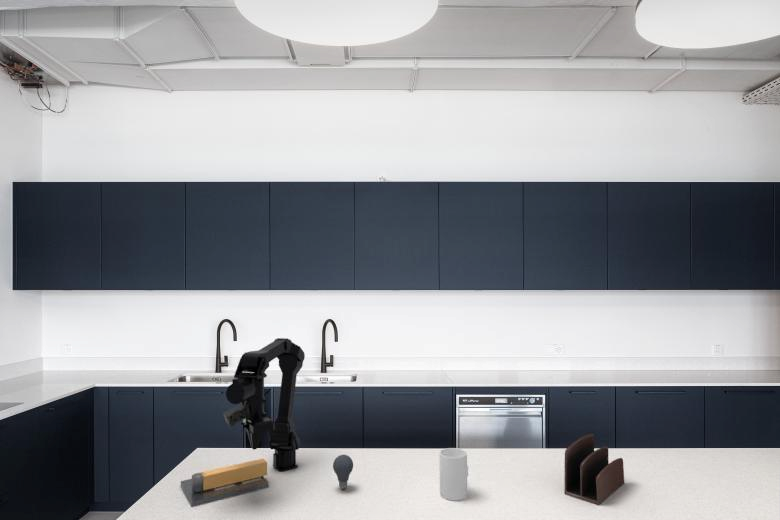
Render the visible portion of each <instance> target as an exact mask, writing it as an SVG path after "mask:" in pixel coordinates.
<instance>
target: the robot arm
mask: <svg viewBox="0 0 780 520" xmlns="http://www.w3.org/2000/svg"><path fill="white" fill-rule="evenodd" d="M305 356H306V355H305V352H304V350H303V349H302V348H301V346H300V345H297V344H296V343H294V342H292V340H291V338H285V337H283V338H275V339H274V341H272V342H270V343H269V344H267V345H265V346H264V347H262V348H261V349H259V350H251V351H246V352H244V353H242V355H241V357H240V359H239V361H238V364H237V367H236V369H235V372H234V375H233V379H232V380H231V381H232V383H231V384H230V385H228V387H227V389H226V391H225V396H226V399H227V401H228V402H229V403H231V404H232V405H236V406H234V407H232V408H230V409H228V410H227V411H224V412H223V418H224V420H225V422H226V424H227V425H228V426H229V427H233V426H235V425H236V424H238V423H239V422H240V425H241V427H243V428H244V429H245V430H246V432H247V436H248V440H249V445H250V448H251V449H252V450H257V449H258V446H259V444H260V443H261V440H262V438H263V437H264V434H265V432H266V433H267V432H269V433H268V442H269V447H270V450H274V453H273V458H272V461H273V462H272V466H273V467H274V468H275V469H276V470H277V471H278V472H284V471H288V470H292V469H297V468H298V467H299V465H297V454H296V451H297V450H299V449H300V447H301V446H300V445H301V439H300V437H299V436H298V434H297V432H296V431H297V430H296V428H297V427H296V424H295V422H294V419H293V413H294V412H293V411H294V403H295V393H296V392H295V391H296V383H297V375H298V373H299V372H300V370H301V369H302V367H303V364H304V361H305ZM276 358H277V359H278V367H279V368H280V371H281V383H280V391H279V398H278V399H279V400H278V408H277V416H276V419H274V421H273V420H272V419H271V418H269V417H267V412H265V404H266V403H267V398H265V384H264V383H265V378H267V376H268V374H267V373H265V372H266V370H267V369H268V368H269V367H270V362H271V361H273V360H274V359H276ZM241 421H242V422H241Z"/></svg>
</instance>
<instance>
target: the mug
mask: <svg viewBox="0 0 780 520" xmlns="http://www.w3.org/2000/svg"><path fill="white" fill-rule="evenodd" d="M468 477H469V466H468V454H467V451H465V450H463V449H461V448H456V447H448V448H443V449H441V450H440V451H439V495H440V497H442V499H444V500H447V501H451V502H452V501H453V502H454V501H455V502H458V501H463V500H465V499H466V498H467V497H468V494H469V493H468V491H469V490H468Z"/></svg>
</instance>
